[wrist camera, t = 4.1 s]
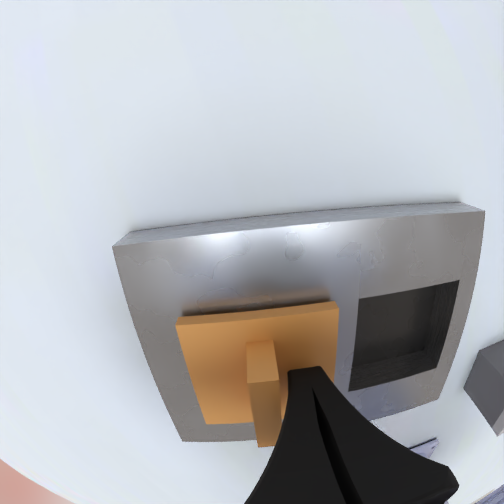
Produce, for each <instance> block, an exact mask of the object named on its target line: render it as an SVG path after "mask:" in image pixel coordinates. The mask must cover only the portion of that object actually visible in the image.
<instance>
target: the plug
mask: <svg viewBox="0 0 504 504" xmlns="http://www.w3.org/2000/svg"><path fill="white" fill-rule="evenodd" d="M464 390H465V391H466V392H467V394H468V395H469V396H470V398H471V399H472V401H473V402H474V403H475V405H476V406H477V408H478V409H479V410H480V412H481V413H482V415H483V416H484V417H485V419H486V420H487V422H488V423H489V425H490V426H491V428H492V429H493V431H494V432H495V434H496V435H497V437H498V436H499V435H501V434H502V433H504V340H502V341H500V342H498V343H495V344H493V345H491V346H489V347H486V348H484V349H482V350H479V352H478V355H477V357H476V360H475V362H474V365H473V367H472V370H471V372H470V374H469V377H468V379H467V381H466V383H465V386H464Z"/></svg>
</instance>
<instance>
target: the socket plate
mask: <svg viewBox="0 0 504 504" xmlns="http://www.w3.org/2000/svg"><path fill="white" fill-rule="evenodd" d="M484 220H485V211H484V210H481V209H478V208H476V207H473V206H470V205H467V204H464V203H461V202H451V203H428V204H408V205H391V206H375V207H360V208H347V209H334V210H321V211H310V212H298V213H287V214H277V215H267V216H257V217H247V218H238V219H229V220H220V221H211V222H203V223H194V224H186V225H178V226H170V227H163V228H155V229H148V230H141V231H133V232H129V233H128V234H127V235H126V236H124V237H123V238H122V239H121V240H119V241H118V242H117V243H116V244H114V245H113V246H112V248H113V253H114V257H115V261H116V265H117V269H118V272H119V276H120V280H121V283H122V287H123V290H124V294H125V297H126V301H127V304H128V307H129V310H130V313H131V317H132V320H133V323H134V326H135V329H136V332H137V335H138V337H139V340H140V343H141V346H142V349H143V351H144V354H145V357H146V359H147V362H148V365H149V367H150V370H151V372H152V375H153V377H154V380H155V382H156V385H157V387H158V389H159V392H160V394H161V396H162V399H163V401H164V403H165V406H166V408H167V410H168V412H169V414H170V417H171V419H172V421H173V423H174V425H175V427H176V429H177V431H178V433H179V435H180V437H181V439H182V441H185V442H223V441H245V440H257V438H256V432H255V427H254V422H248V423H232V424H206V422H205V419H204V417H203V414H202V411H201V408H200V405H199V402H198V399H197V396H196V393H195V390H194V387H193V384H192V381H191V378H190V375H189V371H188V368H187V365H186V362H185V358H184V355H183V351H182V348H181V345H180V341H179V337H178V334H177V330H176V326H175V325H176V322H177V319H178V317H185V316H199V315H212V314H224V313H235V312H246V311H256V310H265V309H274V308H283V307H292V306H300V305H308V304H315V303H323V302H330V301H335V302H336V304H337V306H338V307H339V322H338V338H337V352H336V364H335V375H334V385H335V386H336V387H337V388H338V390H339V391H340V392H341V393H342V394H343V395H344V397H345V398H346V399H347V400H348V401H349V402H350V403H351V404H352V405H353V406H354V407H355V408H356V409H357V410H358V411H359V412H360V413H361V414H362V415H363V416H364V417H365V418H366V419H367V420H368V421H371V420H375V419H378V418H382V417H386V416H389V415H393V414H396V413H399V412H402V411H405V410H409V409H412V408H415V407H417V406H420V405H423V404H426V403H429V402H431V401H434V400H437V399H438V398H439V395H440V393H441V391H442V388H443V386H444V384H445V381H446V379H447V376H448V373H449V371H450V368H451V365H452V363H453V360H454V357H455V354H456V351H457V348H458V345H459V342H460V339H461V336H462V333H463V329H464V326H465V322H466V319H467V315H468V311H469V307H470V303H471V299H472V295H473V290H474V286H475V281H476V276H477V271H478V265H479V259H480V253H481V246H482V238H483V230H484ZM282 422H283V419H282Z"/></svg>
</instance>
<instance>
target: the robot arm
mask: <svg viewBox="0 0 504 504" xmlns="http://www.w3.org/2000/svg"><path fill="white" fill-rule="evenodd" d="M287 376H288V398H287V404H286V410H285V415H284V419H283V422H282V426H281V430H280V433H279V436H278V439H277V442H276V445H275V447H274V450H273V452H272V455H271V457H270V459H269V461H268V464H267V466H266V468H265V470H264V472H263V474H262V476H261V477H260V479H259V481H258V483H257V484H256V486H255V488H254V490H253V491H252V493H251V494H250V496H249V497H248V499H247V500H246V502H245V503H244V504H449V503H448V501H447V500H448V499H449V498H450V497H451V496H452V495H453V494H454V493H455V492H456V491H457V490H458V488H459V484H458V482H457V480H456V478H455V476H454V474H453V473H452V471H451V470H450V469H449V467H448V466H445V465H443V464H440V463H437V462H435V461H432V460H430V459H429V457H430V456H431V454H432V453H433V451H434V450H435V448H436V447H437V445H438V443H439V441H438V439H436V440H433V441H431V442H428V443H426V444H423V445H421V446H418V447H415V448H413V449H408V448H406V447H405V446H403V445H401V444H400V443H398V442H396V441H395V440H393V439H392V438H390V437H389V436H387V435H386V434H385V433H383V432H382V431H381V430H379V429H378V428H377V427H376V426H374V425H373V424H372V423H371V422H370V421H368V420H367V419H366V418H365V417H364V416H363V415H362V414H361V413H360V412H359V411H358V410H357V409H356V408H355V407H354V406H353V405H352V404H351V403H350V402H349V401H348V400H347V399H346V398H345V397H344V395H343V394H342V393H341V392H340V391H339V390H338V388H337V387H336V386H335V385H334V383H333V382H332V381H331V380H330V378H329V377H328V375H327V374H326V373H325V371H324V370H323V368H322V367H321V366H314V367H308V368H301V369H293V370H290V371H288V372H287ZM475 504H504V484H503V485H502V486H501V487H499V488H498V489H496V490H495V491H494V492H492V493H491V494H489V495H488V496H486V497H484V498H483V499H481V500H480V501H478V502H477V503H475Z"/></svg>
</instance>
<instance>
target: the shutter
mask: <svg viewBox="0 0 504 504" xmlns="http://www.w3.org/2000/svg"><path fill="white" fill-rule="evenodd" d="M338 322H339V307H338V306H337V304H336V302H335V301H330V302H323V303H315V304H308V305H300V306H292V307H283V308H274V309H265V310H256V311H246V312H235V313H224V314H212V315H199V316H185V317H178V319H177V322H176V325H175V326H176V330H177V334H178V337H179V341H180V345H181V348H182V351H183V355H184V358H185V362H186V365H187V368H188V371H189V375H190V378H191V381H192V384H193V387H194V390H195V393H196V396H197V399H198V402H199V405H200V408H201V411H202V414H203V417H204V419H205V422H206V424H232V423H248V422H254V427H255V432H256V438H257V443H258V447H268V446H275V445H276V442H277V439H278V436H279V433H280V430H281V426H282V419H284V415H285V410H286V404H287V398H288V376H287V372H288V371H290V370H293V369H301V368H308V367H314V366H321V367H322V368H323V370H324V371H325V373H326V374H327V375H328V377H329V378H330V380H331V381H332V382H333V383H334V375H335V364H336V352H337V338H338Z"/></svg>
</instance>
